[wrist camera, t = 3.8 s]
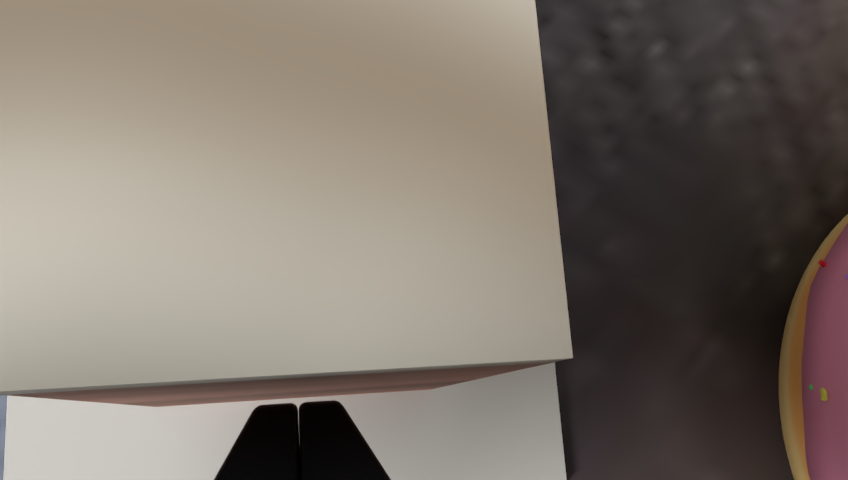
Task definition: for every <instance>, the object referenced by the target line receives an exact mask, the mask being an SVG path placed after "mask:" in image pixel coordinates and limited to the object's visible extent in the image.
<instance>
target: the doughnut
mask: <svg viewBox="0 0 848 480" xmlns="http://www.w3.org/2000/svg"><path fill="white" fill-rule="evenodd" d="M779 407H780V418H781V426H782V432H783V438H784V443H785V448H786V452H787V457H788V460H789V464H790V468H791V471H792V474H793V478H794V480H848V214H847V215H846V216H845V217H844V218H843V219H842V220H841V221H840V222H839V223H838V224H837V225H836V226H835V228H834V229H833V230H832V231H831V232H830V233H829V235H828V236H827V237H826V238H825V240H824V241H823V242H822V244H821V245H820V247H819V248H818V250H817V251H816V253H815V254H814V256H813V258H812V259H811V261H810V263H809V264H808V266H807V268H806V270H805V272H804V274H803V276H802V278H801V280H800V283H799V285H798V287H797V290H796V292H795V295H794V298H793V300H792V303H791V306H790V309H789V313H788V316H787V320H786V324H785V329H784V334H783V339H782V345H781V353H780V363H779Z"/></svg>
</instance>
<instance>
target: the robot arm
mask: <svg viewBox="0 0 848 480" xmlns="http://www.w3.org/2000/svg"><path fill="white" fill-rule="evenodd" d="M214 480H391V479H390V477H389V476H388V474H387V473H386V471H385V470H384V468H383V466H382V465H381V463H380V462H379V460H378V459H377V457H376V456H375V454H374V453H373V451H372V449H371V448H370V446H369V445H368V443H367V442H366V440H365V439H364V437H363V436H362V434H361V432H360V431H359V429H358V428H357V426H356V425H355V423H354V422H353V420H352V418H351V417H350V415H349V414H348V412H347V411H346V409H345V408H344V406H343V405H342V404H341V403H340V402H338V401H336V400H331V401H315V402H304V403H302V404H301V405H300V407H299V423H298V408H297V406H296V405H295V404H293V403H283V404H268V405H259V406H258V407H256V408H255V409H254V410H253V411H252V413H251V415H250V416H249V418H248V420H247V422H246V424H245V425H244V427H243V429H242V431H241V432H240V434H239V436H238V438H237V439H236V441H235V443H234V445H233V446H232V448H231V450H230V452H229V454H228V455H227V457H226V459H225V461H224V462H223V464H222V466H221V468H220V469H219V471H218V473H217V475H216V477H215V478H214Z"/></svg>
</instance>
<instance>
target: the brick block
mask: <svg viewBox="0 0 848 480" xmlns="http://www.w3.org/2000/svg"><path fill="white" fill-rule="evenodd" d="M571 358H573V353H572V343H571V334H570V325H569V315H568V306H567V296H566V287H565V278H564V268H563V259H562V249H561V240H560V230H559V221H558V212H557V202H556V193H555V183H554V174H553V165H552V155H551V146H550V136H549V127H548V118H547V108H546V99H545V89H544V80H543V70H542V61H541V52H540V42H539V33H538V23H537V14H536V5H535V0H0V395H8V396H21V397H34V398H47V399H60V400H73V401H86V402H99V403H112V404H125V405H138V406H151V407H163V406H179V405H195V404H210V403H226V402H242V401H258V400H274V399H289V398H305V397H321V396H337V395H353V394H369V393H384V392H400V391H416V390H431V389H436V388H440V387H445V386H449V385H454V384H458V383H463V382H467V381H472V380H476V379H481V378H485V377H490V376H494V375H499V374H503V373H508V372H513V371H517V370H522V369H526V368H531V367H535V366H540V365H544V364H549V363H553V362H558V361H562V360H567V359H571Z"/></svg>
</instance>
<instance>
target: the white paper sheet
mask: <svg viewBox="0 0 848 480" xmlns="http://www.w3.org/2000/svg"><path fill="white" fill-rule="evenodd" d="M331 400H336V401H338V402H340V403H341V404H342V405H343V406H344V408H345V409H346V411H347V412H348V414H349V415H350V417H351V418H352V420H353V422H354V423H355V425H356V426H357V428H358V429H359V431H360V432H361V434H362V436H363V437H364V439H365V440H366V442H367V443H368V445H369V446H370V448H371V449H372V451H373V453H374V454H375V456H376V457H377V459H378V460H379V462H380V463H381V465H382V466H383V468H384V470H385V471H386V473H387V474H388V476H389V477H390V479H391V480H567V479H566V469H565V459H564V449H563V439H562V429H561V419H560V410H559V400H558V390H557V380H556V370H555V362H553V363H549V364H544V365H540V366H535V367H531V368H526V369H522V370H517V371H513V372H508V373H503V374H499V375H494V376H490V377H485V378H481V379H476V380H472V381H467V382H463V383H458V384H454V385H449V386H445V387H440V388H436V389H431V390H416V391H400V392H384V393H369V394H353V395H337V396H321V397H305V398H289V399H274V400H258V401H242V402H226V403H210V404H195V405H179V406H163V407H151V406H138V405H125V404H112V403H99V402H86V401H73V400H60V399H47V398H34V397H21V396H8V397H7V417H6V438H5V458H4V479H3V480H214V478H215V477H216V475H217V473H218V471H219V469H220V468H221V466H222V464H223V462H224V461H225V459H226V457H227V455H228V454H229V452H230V450H231V448H232V446H233V445H234V443H235V441H236V439H237V438H238V436H239V434H240V432H241V431H242V429H243V427H244V425H245V424H246V422H247V420H248V418H249V416H250V415H251V413H252V411H253V410H254V409H255V408H256V407H258V406H259V405H268V404H283V403H293V404H295V405H296V406H297V408H298V423H299V407H300V405H301V404H302V403H304V402H315V401H331Z"/></svg>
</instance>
